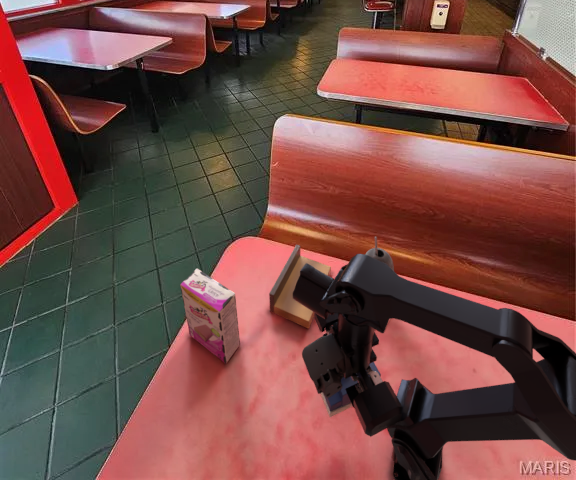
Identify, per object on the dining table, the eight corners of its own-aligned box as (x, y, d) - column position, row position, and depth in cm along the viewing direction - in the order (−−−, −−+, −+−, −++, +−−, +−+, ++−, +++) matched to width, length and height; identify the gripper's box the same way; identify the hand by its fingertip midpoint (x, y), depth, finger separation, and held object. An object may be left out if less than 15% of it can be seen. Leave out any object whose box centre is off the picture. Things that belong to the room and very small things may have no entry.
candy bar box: (188, 337, 73) (178, 284, 67) (204, 318, 77) (196, 266, 71) (225, 367, 68) (218, 312, 62) (241, 345, 72) (236, 291, 66)
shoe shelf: (330, 273, 88) (331, 256, 86) (308, 329, 75) (309, 310, 72) (296, 260, 92) (296, 244, 90) (269, 311, 79) (269, 293, 76)
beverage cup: (390, 317, 77) (400, 253, 70) (358, 311, 78) (364, 248, 71) (387, 289, 84) (396, 228, 76) (358, 284, 85) (364, 224, 78)
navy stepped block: (366, 366, 62) (369, 348, 60) (380, 392, 58) (383, 374, 56) (318, 388, 59) (319, 370, 57) (329, 417, 55) (330, 399, 53)
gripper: (287, 292, 58) (288, 350, 63) (338, 421, 41) (333, 482, 47) (343, 273, 61) (339, 329, 67) (411, 384, 45) (397, 446, 51)
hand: (349, 386), depth 58 cm, fingers closed on navy stepped block, 4 cm apart
